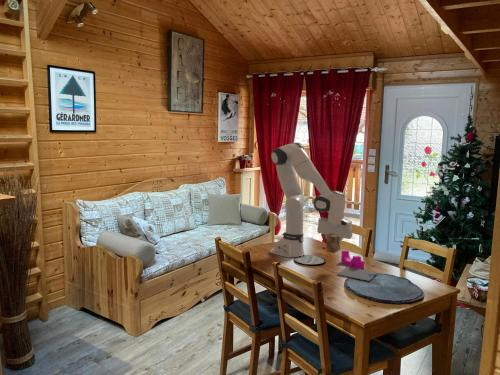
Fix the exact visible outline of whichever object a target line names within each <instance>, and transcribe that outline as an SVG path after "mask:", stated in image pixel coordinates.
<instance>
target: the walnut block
mask: <svg viewBox="0 0 500 375" xmlns="http://www.w3.org/2000/svg"><path fill="white" fill-rule="evenodd" d="M338 241H340V237H337V235H335V234H330V233H329V234H327V239H326V246H325V247H326V248H325V252H328V253H332V254H335V253H337V252H338V251H340V250H341V244H340V245H337V242H338Z"/></svg>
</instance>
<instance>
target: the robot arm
mask: <svg viewBox="0 0 500 375" xmlns="http://www.w3.org/2000/svg"><path fill="white" fill-rule="evenodd" d="M270 158H271V161H272V163H274V165H275V168H276V173H277V178H278V181H279V184H280V188H281V190H282V191H283V193H284V195H285V198H286V201H285V202H284V203H285V204H284V205H285V207H284V209H285V232H283V233H281V235H282V238H280V239H279V240H277V241H276V242H274V244H273V248H271V249H270V254H272V255H273V254H274V255H277V256H281V257H284V258H299V256H301V257H304V256H306V255H305V249H304V207H305V205H306V199H305V196H304V194H303V191H302V188H301V186H300V183H299V180H298V177H299V178H300V179H302V180H304V181H307V182H310V183H311V184H313V185H314V187H315V188H316V189H317V190H318V192H319V194H320V195H318V196H315V198H314V199H313V203H312V204H313V208H314V209H315V211H317V212H320V213H328V215H327V217H319V218H318V221H317V222H318V224H317V229H316V231H317V233H318V234H322V235H324V237H325V239H326V240H327V234H329V233H330V234H335V235H337V237H340V241H338V242H337V245H340V246H341V244H342V243H341V242H342V241H343V240H344V239H347V240H350V239H352V238H353V234H354V232H353V226H352V224H353V221H352V220H350V219H348V218H347V217H345V209H346V195H345V194H344V193H343V192H341V191H337V190H331V189H330V187H329V185H328V183H327V182H326V181H325V180H324V178H323V177H322V175H321V174H320V173H319V170H317V168H316V166H315V165H314V163H313V162H312V160H311V158H310V156H309V154H308V153H307V152H306V150H305V148H304V145H303V144H302V143H301V142H293V143H288V144H284V145H281V146H280V147H276V148H274V149H272V151H271V153H270ZM296 174H297V175H296ZM297 176H298V177H297ZM303 255H304V256H303Z"/></svg>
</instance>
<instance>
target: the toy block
mask: <svg viewBox="0 0 500 375" xmlns="http://www.w3.org/2000/svg"><path fill="white" fill-rule="evenodd" d="M340 260H341V261H340V262H341V263H342V264H344V265H346V266H347V267H351V268H356V269H361V270H365V260H362V256H360V255H353V256H352V257H351V256H350V251H349V250H348V249H346V250H345V249H344V250H341V257H340Z"/></svg>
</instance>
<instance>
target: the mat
mask: <svg viewBox="0 0 500 375" xmlns="http://www.w3.org/2000/svg"><path fill="white" fill-rule="evenodd" d="M368 274H377V275H378V274H379V272H376V271H370V270H365V269H356V268H351V267H349V266H346V267H345V268H343V269H342V270H341V271H339V272H338V273H337V274H336V275H337V276H339V277H344V278H347V279H348V278H349V279H352V278H357V279H362V280H368V281H370V280H371V279H370V278H369V275H368ZM357 279H356V280H357ZM362 280H361V281H362ZM371 281H372V280H371ZM371 281H370V282H371Z"/></svg>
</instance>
